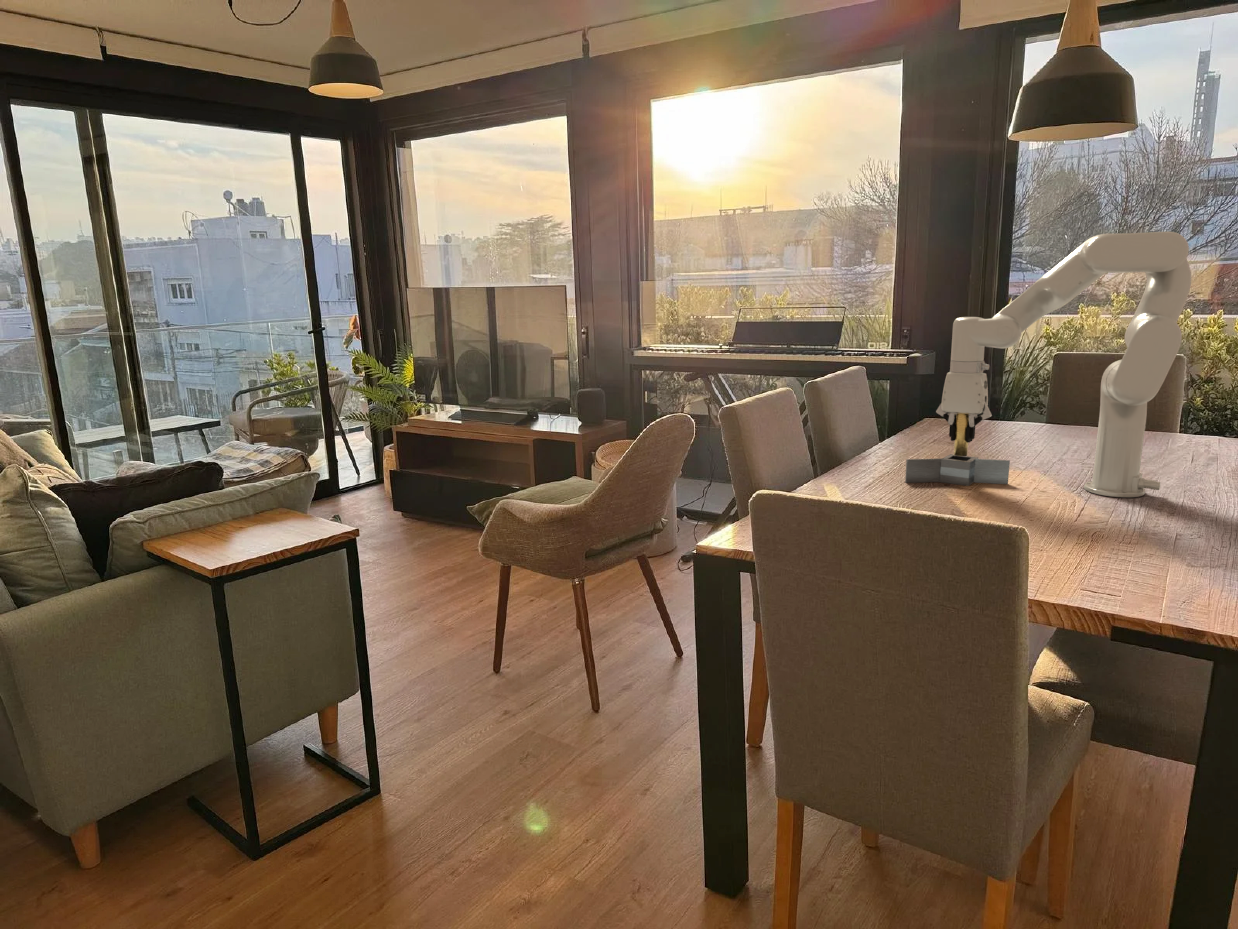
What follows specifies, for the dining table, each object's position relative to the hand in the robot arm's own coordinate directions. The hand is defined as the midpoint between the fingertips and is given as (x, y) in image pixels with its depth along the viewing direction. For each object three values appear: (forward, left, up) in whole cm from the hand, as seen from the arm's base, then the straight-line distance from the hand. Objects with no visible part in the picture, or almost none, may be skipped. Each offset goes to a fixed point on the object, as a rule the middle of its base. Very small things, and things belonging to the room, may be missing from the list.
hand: (961, 440), depth 211 cm
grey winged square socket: (0, +2, -11) cm, 11 cm away
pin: (0, 0, -4) cm, 4 cm away
